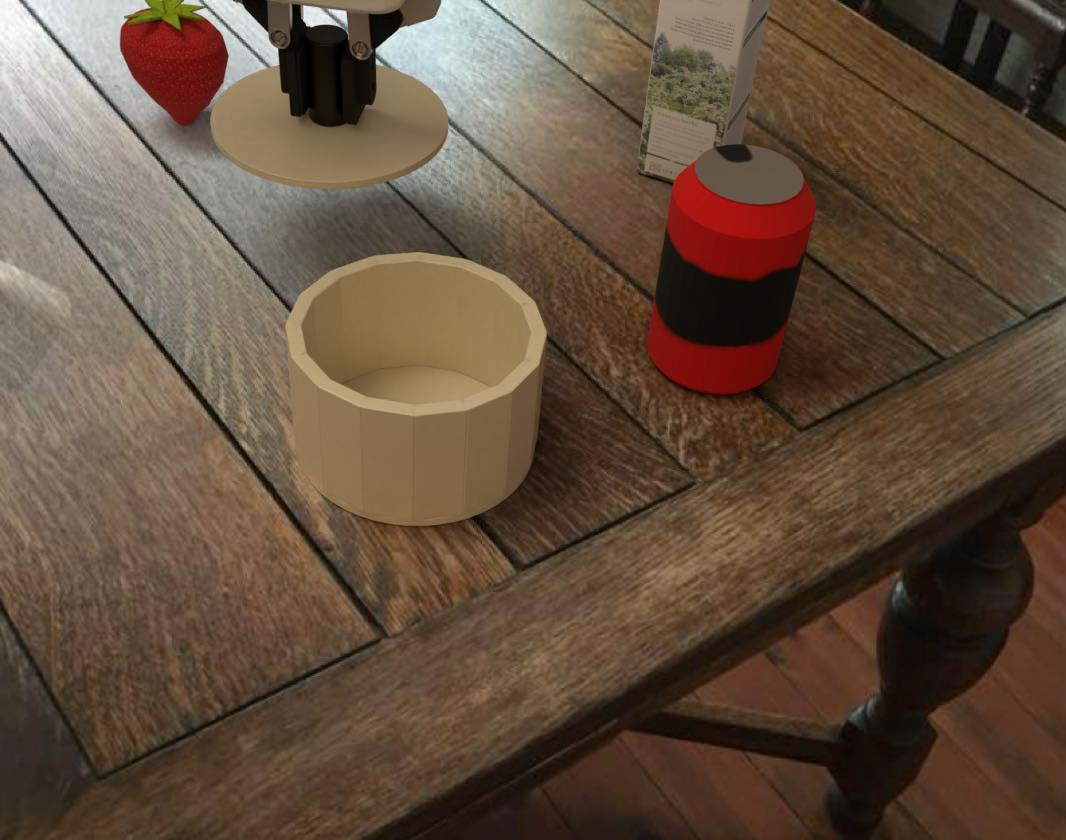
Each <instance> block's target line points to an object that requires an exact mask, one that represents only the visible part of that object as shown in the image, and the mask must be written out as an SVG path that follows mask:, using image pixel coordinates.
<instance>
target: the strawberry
mask: <svg viewBox="0 0 1066 840" xmlns="http://www.w3.org/2000/svg"><path fill="white" fill-rule="evenodd" d="M184 1H185V0H144V2H145V4H146V5H147V6H148V7H147V8H143V9H140V10H138V11H136V12H134V13H132V14H127V15H123V18H124V20H125V19H126V20H125V21H124V23H123V24H122V25H121V27H120V31H119V32H120V33H119V50H120V53H121V55H122V58H123V60H124V62H125V64H126V66H127V68H128V70H129V72H130V74H131V76H132V78H133V80H134V81H135V82H136V83H137V84H138V85H139V86H140V87H141V89H143V90H144V92H145V93H146V94H147V95H148V96H149V97H150V98H151V100H152V101H154V103H156V104H157V105H158V106H160V108H162V109H163V110H164V111H165V112H166V113H167V114H168V115H169V116H170V117H171V119H173V120H174V121H175V122H176V123H178V124H179V125H183V126H189V125H192V124H193V123H194V122H195V121H196V120H197V118H198V116H200V114H201V113H202V112H203V111H204V110H205V109H206V108H207V107H208V106H209V105H210V103H211V102H212V101H213V99H214V98H215V96H216V94H217V93H218V92H219V90H220V88H221V87H222V85H224V82H225V77H226V71H227V66H228V61H229V51H228V48H227V44H226V41H225V39H224V35H223V34H222V32H221V31H220V30H219V29H218V28H217V27H216V25H214V24H213V23H212V22H211V21H210V20H209V19H207V18H206V17H205V16H203V15H201V14H199V13H196V12H197V11H200V10H203V9H206V8H207V6H206V5H205V6H204V5H197V4H196V5H195V4H187V3H186V4H185V3H183V2H184Z"/></svg>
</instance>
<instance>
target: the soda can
mask: <svg viewBox="0 0 1066 840" xmlns="http://www.w3.org/2000/svg"><path fill="white" fill-rule="evenodd" d="M816 213H817V202H816V198H815V195H814V194H813V192H812V190H811V188H810V187H809V185H808V184H807V182H806V179H805V178H804V174H803V172H802V170H801V168H800V167H799V166H798V165H797V164H796V163H795V162H794V161H792V160H791V159H790V158H788V157H787V156H785V155H784V154H781V153H780V152H777V151H774V150H772V149H770V148H766V147H763V146H758V145H752V144H743V143H742V144H732V145H723V146H718V147H715V148H712V149H709V150H708V151H706V152H704V153H703V154H702V155H700V156H699V157H698V159H697V160H696V161H694V162H693V163H692V164H691V165H689V166H688V167H687V168H685V169H684V170H683V171H682V172H681V173H680V174H678V176H677V177H676V179H675V181H674V183H672V189H671V194H670V201H669V206H668V212H667V219H666V225H665V231H664V236H663V244H662V250H661V254H660V255H661V256H660V261H659V267H658V273H657V278H656V286H655V293H654V299H653V304H652V309H651V310H652V311H651V316H650V322H649V328H648V334H647V340H646V345H647V346H646V347H647V352H648V354H649V357H650V360H652V362H653V364H654V365H655V366H656V368H657V369H658V370H659V371H660V372H661V373H662V374H663V375H664V376H665V377H666V378H668V379H669V380H670V381H672V382H673V383H674V384H677V385H679V386H681V387H683V388H685V389H688V390H690V391H694V392H697V393H702V394H707V395H717V396H726V395H735V394H740V393H743V392H744V393H745V392H747V391H749V390H752V389H754V388H756V387H758V386H760V385H761V384H763V383H765V382H766V381H767V380H769V379H770V377H771V376H772V375H773V374H774V372H775V370H776V368H777V366H778V362H779V358H780V354H781V351H782V346H783V343H784V339H785V335H786V332H787V331H786V330H787V327H788V322H789V319H790V315H791V312H792V308H793V303H794V299H795V295H796V292H797V288H798V284H799V280H800V276H801V271H802V268H803V264H804V260H805V257H806V252H807V250H808V249H807V248H808V244H809V241H810V236H811V233H812V228H813V226H814V221H815V217H816Z"/></svg>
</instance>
